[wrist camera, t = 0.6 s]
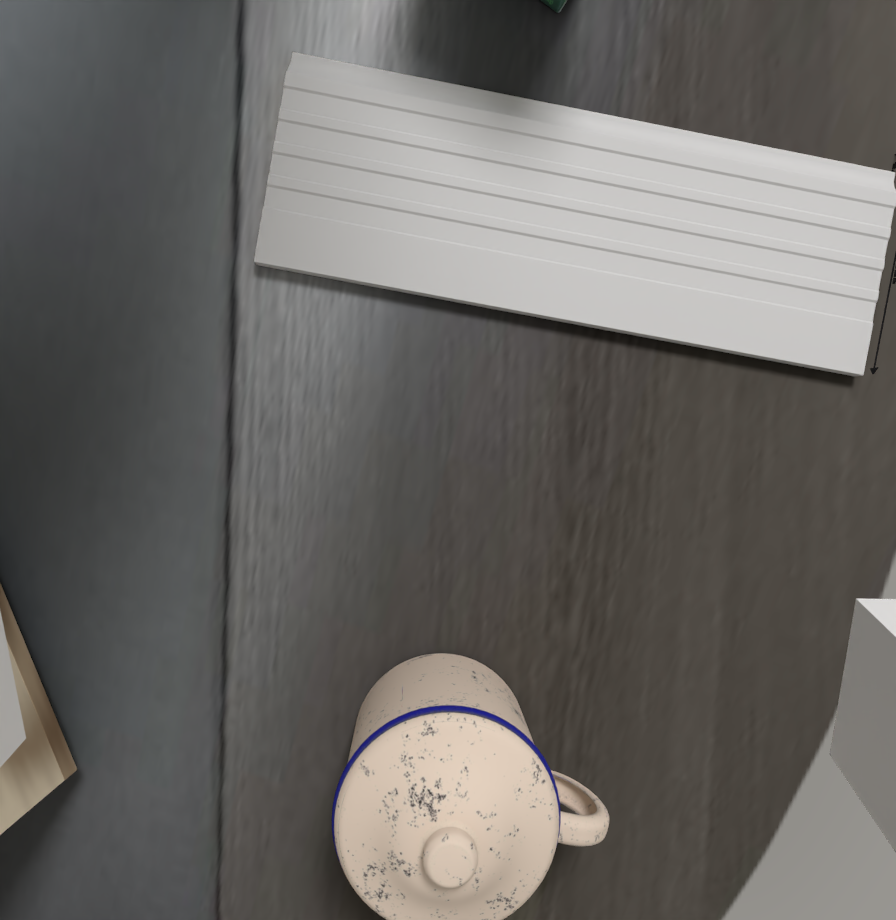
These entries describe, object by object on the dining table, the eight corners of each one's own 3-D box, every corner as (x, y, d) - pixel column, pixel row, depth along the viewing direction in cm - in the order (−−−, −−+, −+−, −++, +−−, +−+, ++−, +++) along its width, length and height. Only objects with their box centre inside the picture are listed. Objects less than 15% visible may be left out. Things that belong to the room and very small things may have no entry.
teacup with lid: (330, 800, 38) (293, 960, 26) (375, 627, 38) (357, 712, 26) (557, 852, 39) (619, 1032, 27) (602, 682, 38) (683, 789, 27)
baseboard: (300, 30, 37) (260, 268, 38) (290, -4, 34) (247, 254, 35) (891, 149, 39) (847, 378, 39) (929, 127, 36) (882, 373, 36)
